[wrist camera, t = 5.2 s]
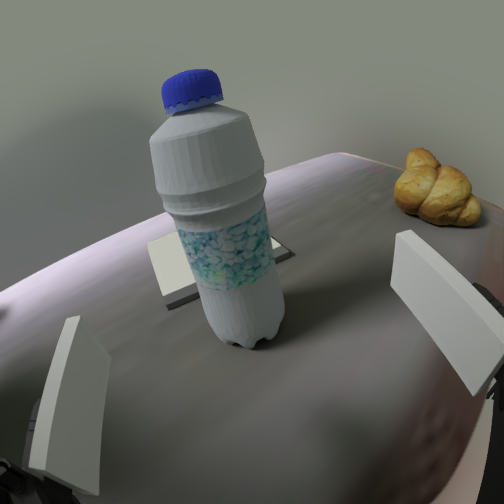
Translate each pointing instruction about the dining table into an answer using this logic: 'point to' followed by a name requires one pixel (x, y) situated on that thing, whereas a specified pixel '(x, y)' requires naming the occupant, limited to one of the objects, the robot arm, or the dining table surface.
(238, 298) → the bottle
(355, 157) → the dining table surface
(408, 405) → the dining table surface
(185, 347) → the dining table surface
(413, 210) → the bread roll
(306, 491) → the dining table surface
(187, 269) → the mat
